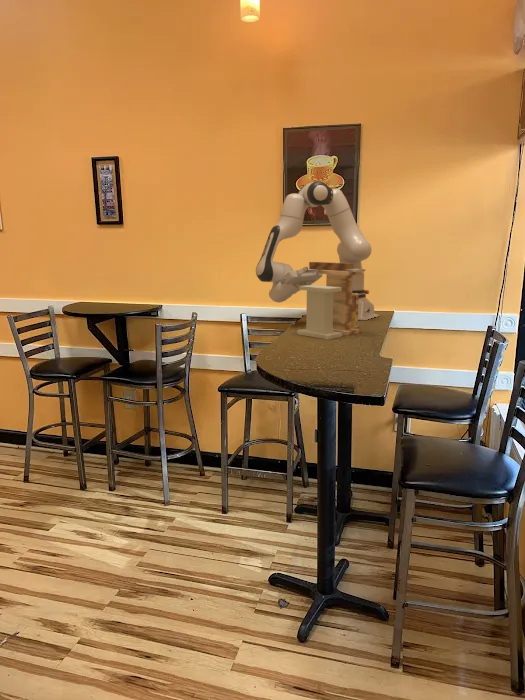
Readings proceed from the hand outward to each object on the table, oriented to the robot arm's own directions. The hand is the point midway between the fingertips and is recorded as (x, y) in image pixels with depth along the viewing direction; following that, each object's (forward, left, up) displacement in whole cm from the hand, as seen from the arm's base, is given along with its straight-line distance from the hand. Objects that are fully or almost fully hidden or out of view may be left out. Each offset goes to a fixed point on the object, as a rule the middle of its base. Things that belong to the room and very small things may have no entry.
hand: (314, 267), depth 233 cm
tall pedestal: (0, +14, -27) cm, 30 cm away
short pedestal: (+12, +14, -27) cm, 33 cm away
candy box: (-11, +10, -27) cm, 31 cm away
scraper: (0, +12, -1) cm, 12 cm away
